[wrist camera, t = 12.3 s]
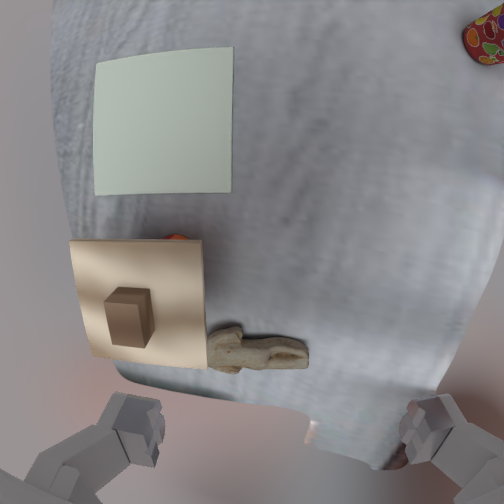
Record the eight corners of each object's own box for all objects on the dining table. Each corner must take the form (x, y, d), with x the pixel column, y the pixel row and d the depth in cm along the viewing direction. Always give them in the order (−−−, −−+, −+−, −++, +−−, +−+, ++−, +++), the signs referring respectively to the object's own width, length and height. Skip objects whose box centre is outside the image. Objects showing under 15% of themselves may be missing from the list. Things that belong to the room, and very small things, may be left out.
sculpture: (309, 321, 44) (201, 316, 42) (316, 341, 39) (197, 337, 38) (301, 360, 46) (201, 356, 45) (306, 381, 42) (198, 378, 41)
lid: (73, 238, 25) (50, 251, 21) (202, 240, 25) (192, 255, 21) (96, 351, 29) (80, 373, 25) (208, 364, 28) (202, 390, 25)
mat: (98, 64, 33) (96, 63, 32) (233, 48, 32) (233, 46, 32) (96, 195, 38) (94, 195, 37) (231, 192, 38) (231, 192, 37)
